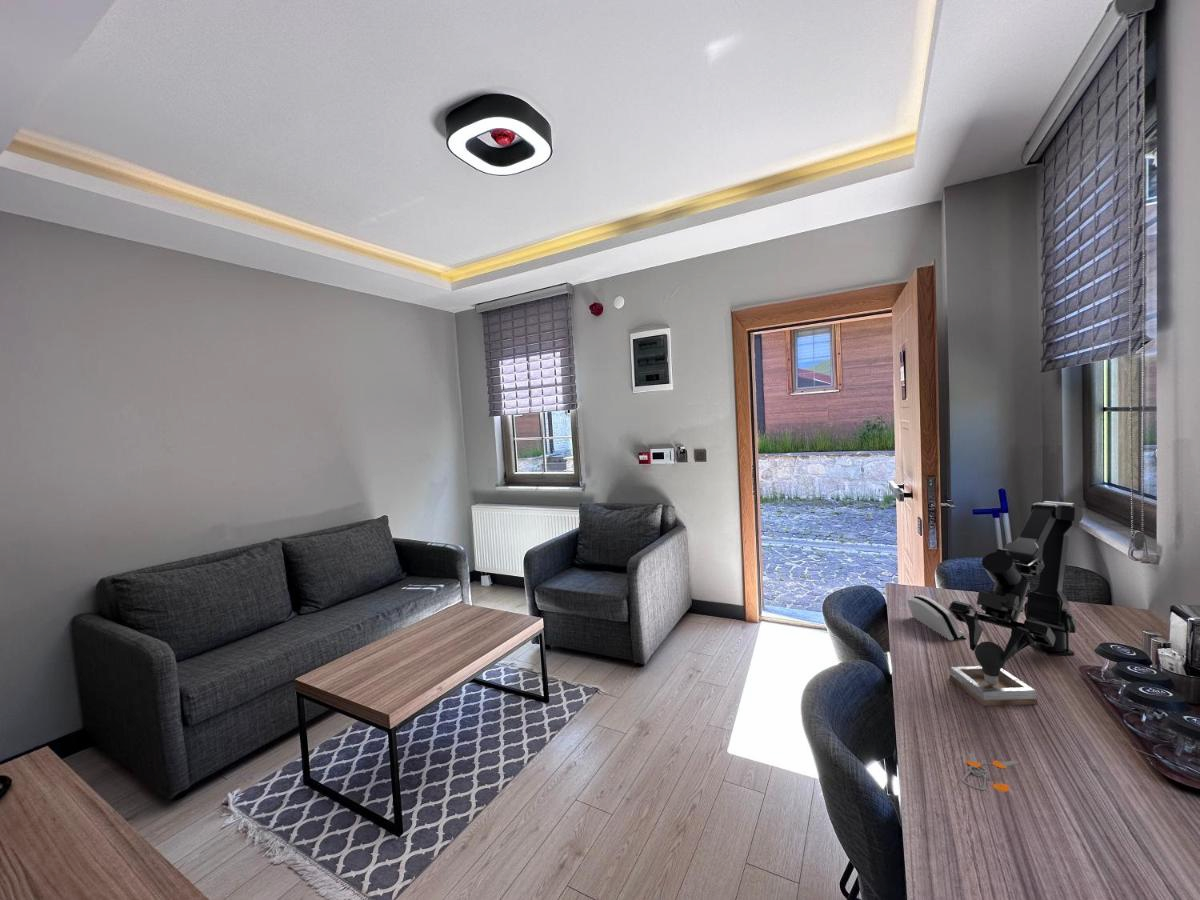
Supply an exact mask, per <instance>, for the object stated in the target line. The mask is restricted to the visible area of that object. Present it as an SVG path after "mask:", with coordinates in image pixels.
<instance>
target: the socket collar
mask: <svg viewBox="0 0 1200 900" xmlns="http://www.w3.org/2000/svg"><path fill="white" fill-rule="evenodd" d="M950 675H951V676H953V677H954V678H955V679H956V680H958V681H959V682H960V683H962V684H963V685H964V686H965V687H967V688H968V689H969V690H971V691H972V692H973V693H974V694H976V695H977V696H978V697H980V698H981V699H982V700H983V701H989V700H1022V699H1035V698H1036V689H1034V688H1032V687H1031V686H1030V685H1028V684H1027V683H1025V682H1024V681H1022V680H1021V679H1019V678H1017V677H1016V676H1015V675H1013V674H1011V673H1010V672H1008V671H1006V670H1005V669H1003V667H1002V668H1001V670H1000V672H999V675H998V678H999V679H1001V680H1002V681H1004V682H1005V683H1007V684H1008V685H1010V686H1011V687H1012V688H990V689H985V688H984V687H982V686H981V685H979V684H978V683H977V682H975V681H974V680H973V679H971V678H970V677H984V672H983V669H982V666H981V665H975V666H974V665H973V666H970V665H967V666H950Z"/></svg>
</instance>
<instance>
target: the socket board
mask: <svg viewBox="0 0 1200 900" xmlns="http://www.w3.org/2000/svg"><path fill="white" fill-rule="evenodd" d="M970 678H971V679H973V680H974V681H975V682H977V683H978V684H979V685H981V686H982V687H984V688H985V689H990V688H1012V687H1011V686H1010V685H1008V684H1007V683H1005V682H1004V681H1002V680H1001V679H999V678H998V684H997V685H994V686H990V685H989V684H988V683H987V682H985V679H984V677H970ZM949 680H951V681H952V682H953V683H954V684H955V685H957V686H958V687H959V688H960V689H962V690H963V691H964V692H966V693H967V694H968V695H969V696H971V697H972V698H973V699H974V700H976V701H977V702H978V703H979V704H980V705H982V706H985V707H987V706H1015V705H1019V706H1020V705H1021V706H1022V705H1037V704H1038V699H1037V698H1036V697H1035V699H1022V700H989V701H983V700H982V699H981V698H980V697H978V696H977V695H976V694H974V693H973V692H972V691H971V690H969V689H968V688H967V687H965V686H964V685H963V684H962V683H960V682H959V681H958V680H956V679H955V678H954V677H953V676H951V674H949Z"/></svg>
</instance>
